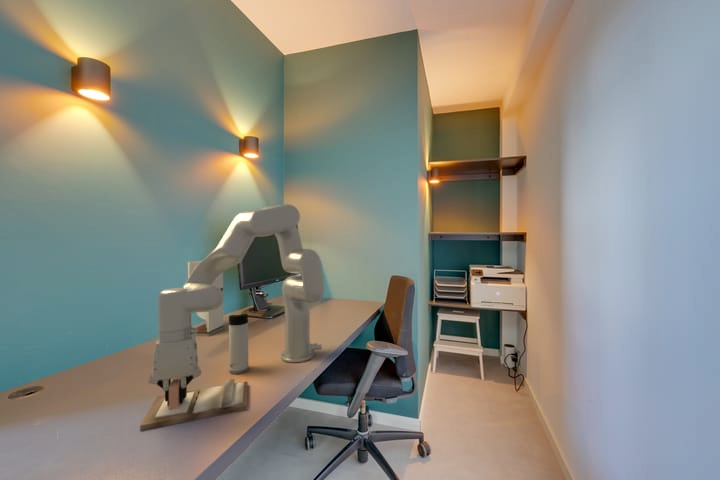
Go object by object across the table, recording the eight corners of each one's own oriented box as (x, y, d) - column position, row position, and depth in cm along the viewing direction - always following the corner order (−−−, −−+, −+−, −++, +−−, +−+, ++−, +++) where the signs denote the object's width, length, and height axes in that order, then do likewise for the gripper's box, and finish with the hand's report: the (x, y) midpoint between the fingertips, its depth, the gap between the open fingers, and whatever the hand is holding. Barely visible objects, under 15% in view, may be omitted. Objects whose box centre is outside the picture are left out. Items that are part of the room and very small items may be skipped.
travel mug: (229, 376, 97) (229, 317, 97) (228, 368, 103) (228, 312, 103) (249, 372, 100) (249, 314, 100) (247, 364, 106) (246, 310, 106)
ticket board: (247, 385, 92) (247, 376, 92) (246, 409, 78) (246, 399, 78) (157, 400, 83) (157, 390, 83) (140, 430, 70) (140, 419, 70)
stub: (194, 393, 85) (194, 371, 85) (187, 412, 75) (186, 387, 75) (166, 397, 82) (166, 375, 82) (155, 418, 73) (154, 392, 73)
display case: (204, 328, 150) (203, 260, 150) (223, 328, 149) (222, 260, 148) (188, 335, 139) (187, 262, 138) (208, 336, 137) (208, 262, 137)
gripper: (210, 327, 85) (210, 389, 85) (145, 333, 79) (146, 400, 79) (206, 335, 78) (206, 403, 78) (134, 342, 72) (135, 416, 72)
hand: (176, 401), depth 79 cm, fingers closed on stub, 2 cm apart
